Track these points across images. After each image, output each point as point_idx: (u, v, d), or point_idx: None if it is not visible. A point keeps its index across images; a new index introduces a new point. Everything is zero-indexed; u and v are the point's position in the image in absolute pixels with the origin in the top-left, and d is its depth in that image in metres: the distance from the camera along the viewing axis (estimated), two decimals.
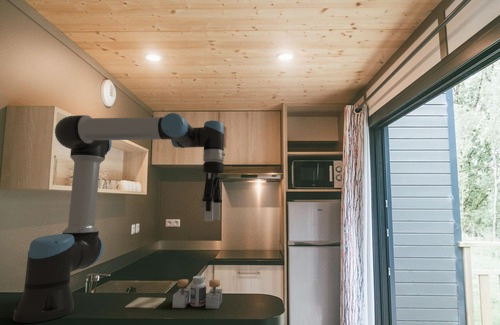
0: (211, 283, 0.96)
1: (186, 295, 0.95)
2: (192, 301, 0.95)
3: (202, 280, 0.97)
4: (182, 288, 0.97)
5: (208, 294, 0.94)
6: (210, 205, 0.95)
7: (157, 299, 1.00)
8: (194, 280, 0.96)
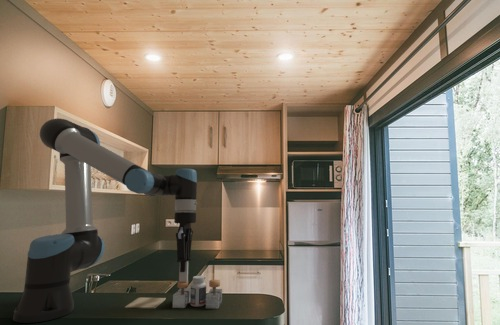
0: (211, 283, 0.96)
1: (186, 295, 0.95)
2: (192, 301, 0.95)
3: (202, 280, 0.97)
4: (182, 290, 0.97)
5: (208, 294, 0.94)
6: (184, 266, 0.98)
7: (157, 299, 1.00)
8: (194, 280, 0.96)
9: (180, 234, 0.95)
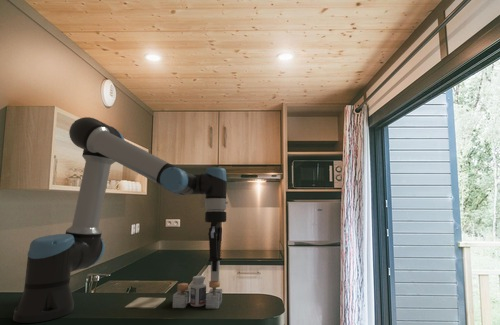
0: (211, 284, 0.96)
1: (186, 295, 0.95)
2: (192, 301, 0.95)
3: (202, 280, 0.97)
4: None
5: (208, 294, 0.94)
6: (216, 265, 0.97)
7: (157, 299, 1.00)
8: (194, 280, 0.96)
9: (213, 233, 0.94)
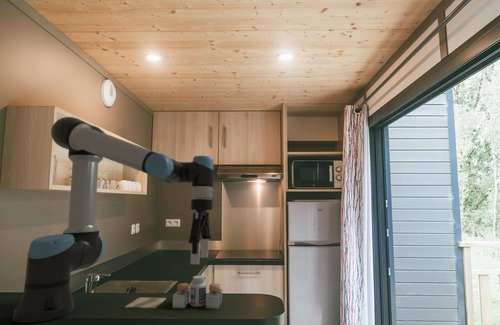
0: (211, 287, 0.96)
1: (186, 295, 0.95)
2: (192, 301, 0.95)
3: (202, 280, 0.97)
4: None
5: (208, 294, 0.94)
6: (197, 247, 0.92)
7: (157, 299, 1.00)
8: (194, 280, 0.96)
9: (198, 213, 0.95)
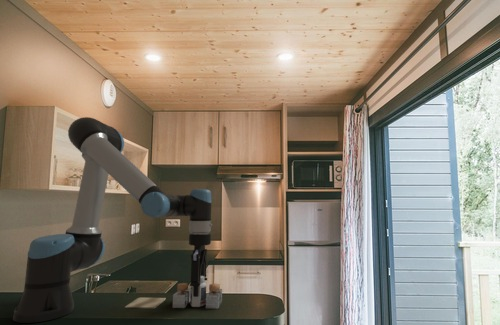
0: (211, 287, 0.96)
1: (186, 295, 0.95)
2: None
3: (202, 280, 0.97)
4: None
5: (208, 294, 0.94)
6: (198, 290, 0.93)
7: (157, 299, 1.00)
8: None
9: (195, 255, 0.93)
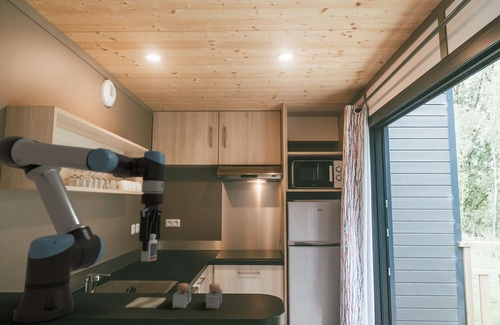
0: (211, 287, 0.96)
1: (186, 295, 0.95)
2: None
3: (153, 237, 1.00)
4: None
5: (208, 294, 0.94)
6: (147, 245, 0.97)
7: (157, 299, 1.00)
8: None
9: (144, 211, 0.96)
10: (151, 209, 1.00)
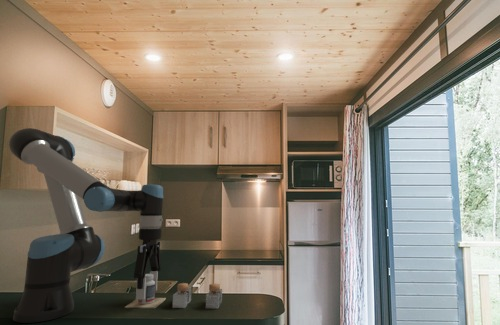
0: (211, 287, 0.96)
1: (186, 295, 0.95)
2: None
3: (150, 278, 0.98)
4: None
5: (208, 294, 0.94)
6: (142, 282, 0.93)
7: (157, 299, 1.00)
8: None
9: (142, 246, 0.94)
10: (149, 245, 0.98)
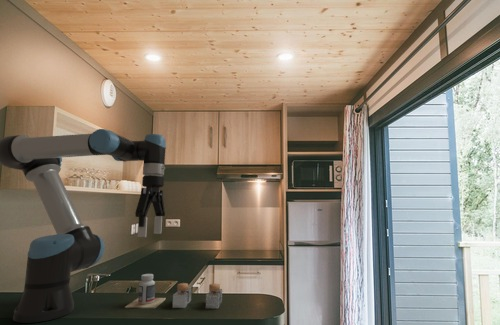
0: (211, 287, 0.96)
1: (186, 295, 0.95)
2: (139, 298, 0.96)
3: (150, 278, 0.98)
4: None
5: (208, 294, 0.94)
6: (143, 221, 0.95)
7: (157, 299, 1.00)
8: (142, 278, 0.97)
9: (146, 188, 0.98)
10: (152, 191, 1.01)
